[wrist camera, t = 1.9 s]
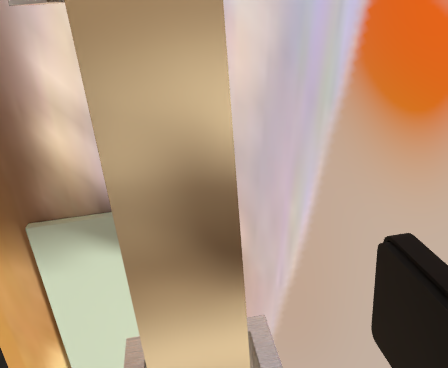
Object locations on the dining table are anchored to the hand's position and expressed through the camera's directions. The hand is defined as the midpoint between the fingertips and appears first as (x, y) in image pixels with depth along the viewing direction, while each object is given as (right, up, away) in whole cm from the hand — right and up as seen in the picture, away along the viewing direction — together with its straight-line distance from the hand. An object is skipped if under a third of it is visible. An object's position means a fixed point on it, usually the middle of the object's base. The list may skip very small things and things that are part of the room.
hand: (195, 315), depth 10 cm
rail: (-1, +3, +4) cm, 5 cm away
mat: (-8, -9, +21) cm, 24 cm away
